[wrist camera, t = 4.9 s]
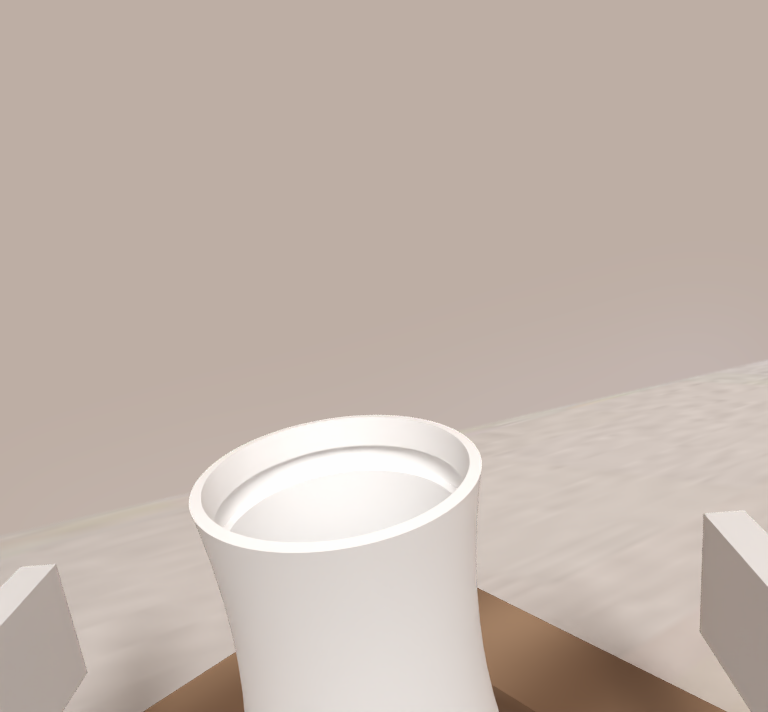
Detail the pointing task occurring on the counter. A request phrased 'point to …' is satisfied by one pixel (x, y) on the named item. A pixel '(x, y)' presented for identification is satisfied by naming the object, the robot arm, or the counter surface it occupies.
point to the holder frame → (503, 673)
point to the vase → (350, 566)
